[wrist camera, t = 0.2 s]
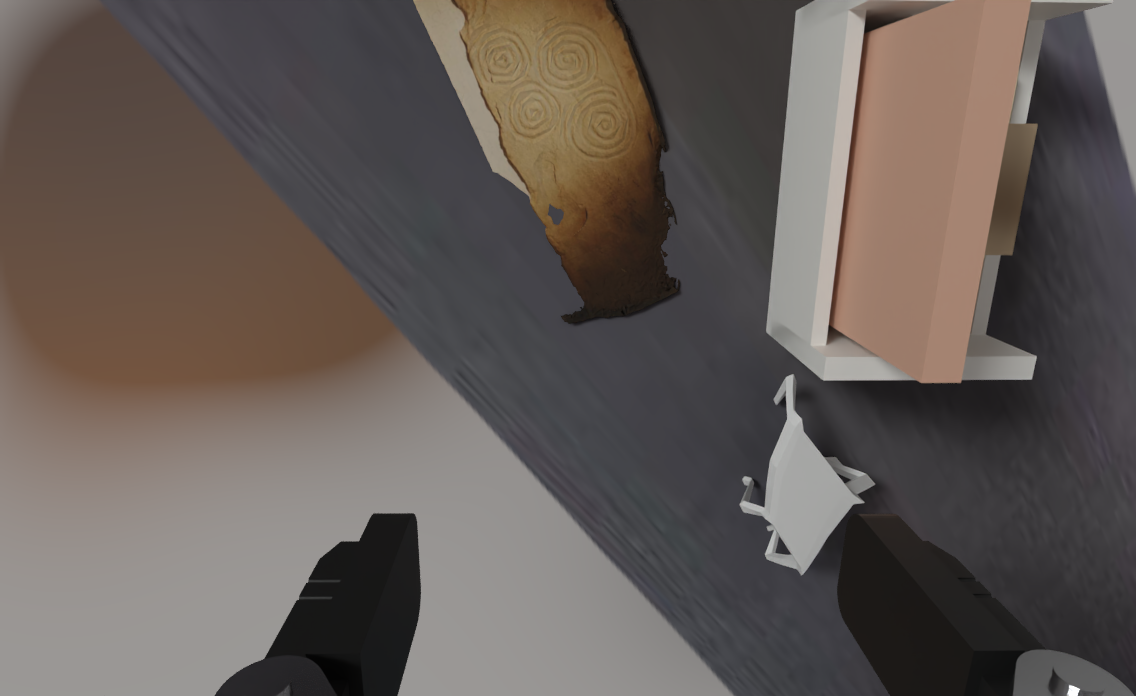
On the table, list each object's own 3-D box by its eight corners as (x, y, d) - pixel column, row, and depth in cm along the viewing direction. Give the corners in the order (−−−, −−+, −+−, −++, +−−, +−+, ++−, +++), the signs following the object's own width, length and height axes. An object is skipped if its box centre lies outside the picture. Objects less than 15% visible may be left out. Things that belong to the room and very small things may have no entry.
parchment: (374, -83, 35) (370, -89, 34) (547, -173, 34) (547, -181, 33) (567, 335, 42) (567, 340, 41) (715, 273, 41) (718, 276, 40)
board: (822, 48, 36) (986, -11, 22) (852, 49, 36) (1033, -11, 22) (795, 304, 40) (921, 383, 26) (822, 303, 40) (960, 382, 26)
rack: (796, 10, 36) (873, -32, 28) (984, 13, 36) (1119, -29, 28) (766, 331, 41) (823, 380, 33) (931, 331, 42) (1031, 379, 33)
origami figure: (870, 502, 45) (907, 544, 40) (752, 546, 46) (775, 592, 41) (819, 346, 42) (853, 371, 37) (693, 395, 43) (711, 426, 38)
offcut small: (927, 124, 32) (951, 123, 30) (1009, 125, 32) (1038, 123, 30) (908, 249, 34) (930, 255, 32) (986, 248, 34) (1012, 255, 32)
